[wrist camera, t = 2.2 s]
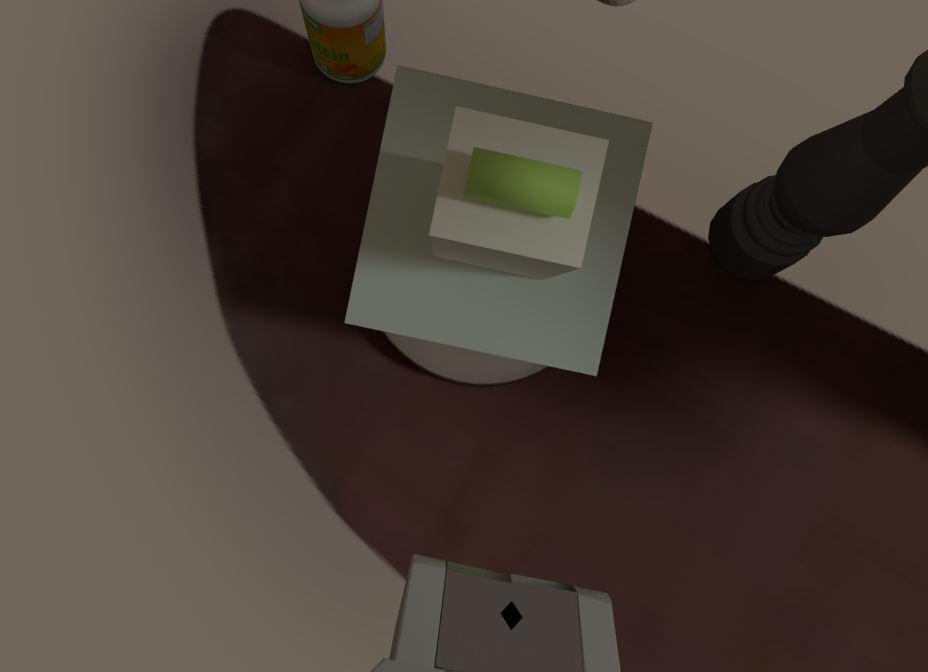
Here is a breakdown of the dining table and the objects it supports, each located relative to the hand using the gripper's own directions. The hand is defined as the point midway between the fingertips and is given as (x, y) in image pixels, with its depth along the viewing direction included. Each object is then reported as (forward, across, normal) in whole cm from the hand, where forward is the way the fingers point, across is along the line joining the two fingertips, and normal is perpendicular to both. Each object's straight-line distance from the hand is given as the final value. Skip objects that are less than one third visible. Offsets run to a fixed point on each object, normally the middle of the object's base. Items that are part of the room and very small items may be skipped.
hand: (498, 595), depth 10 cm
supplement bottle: (+44, +12, +2) cm, 46 cm away
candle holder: (+39, -19, +7) cm, 44 cm away
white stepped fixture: (+28, 0, +6) cm, 28 cm away
